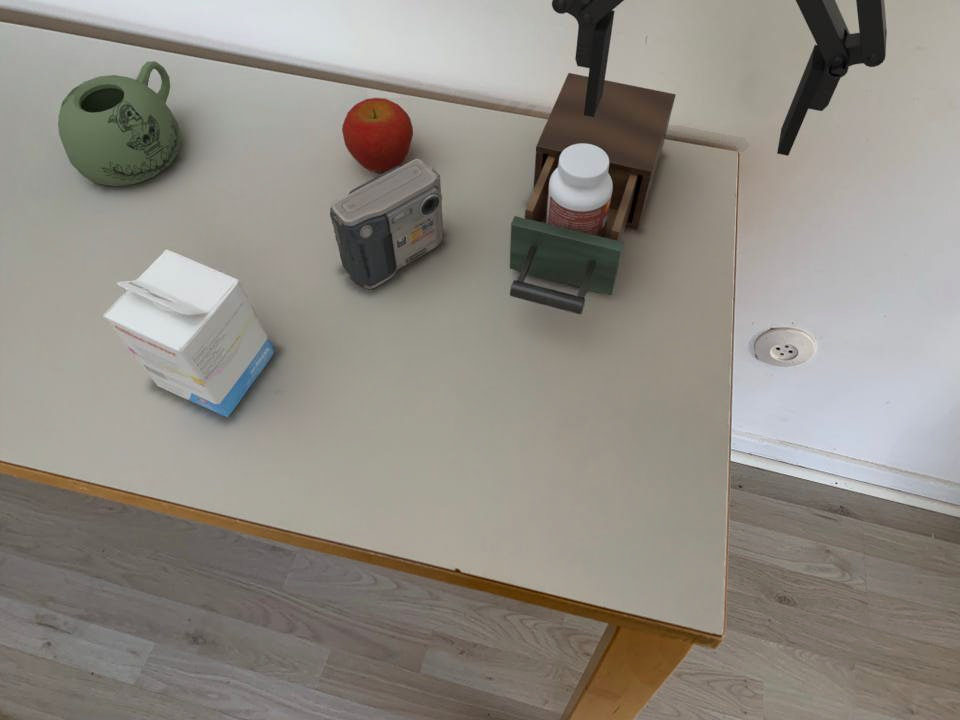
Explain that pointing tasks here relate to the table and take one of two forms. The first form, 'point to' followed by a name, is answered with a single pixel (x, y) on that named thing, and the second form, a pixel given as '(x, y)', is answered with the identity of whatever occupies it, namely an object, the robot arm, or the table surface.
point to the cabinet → (611, 131)
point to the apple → (378, 134)
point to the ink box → (192, 331)
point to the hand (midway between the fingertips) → (686, 123)
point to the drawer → (568, 246)
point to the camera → (388, 222)
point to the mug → (119, 128)
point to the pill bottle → (580, 190)
